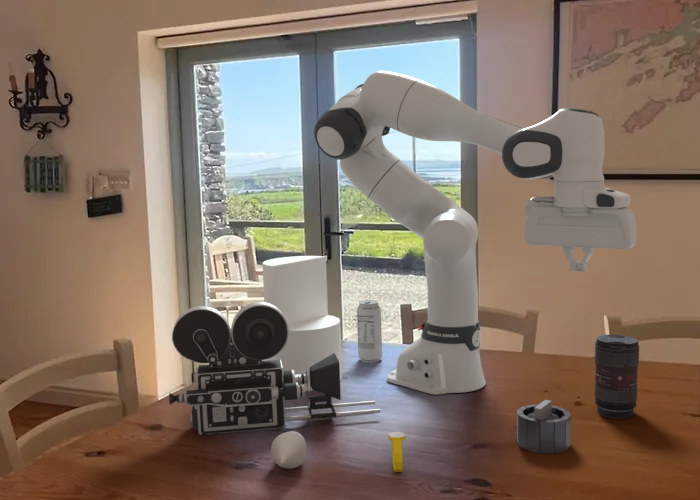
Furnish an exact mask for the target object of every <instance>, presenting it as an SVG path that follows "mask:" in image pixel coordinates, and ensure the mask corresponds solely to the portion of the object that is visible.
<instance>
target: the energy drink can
mask: <svg viewBox="0 0 700 500" xmlns="http://www.w3.org/2000/svg"><path fill="white" fill-rule="evenodd" d="M356 315H357V316H356V321H357V322H356V323H357V324H356V325H357V355H358V358H359V360H360V362H361V361H362V363H364V362H365V364H374V363H379V362H380V361H381V359H382V358H383V343H382V342H383V340H382V339H383V338H382V336H383V335H382V331H383V330H382V308H381V305H379V300H374V299H372V300H371V299H369V300H368V299H367V300H361V301H359V302H358V307H357V309H356Z"/></svg>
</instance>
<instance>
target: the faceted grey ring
mask: <svg viewBox="0 0 700 500" xmlns="http://www.w3.org/2000/svg"><path fill="white" fill-rule="evenodd" d="M539 404H540V403H539ZM539 404H538V403H536V404H528V405H527V404H526V405H523V406H521V407H519V408H518V409H517V410H516V442H517V446H518V447H520V448H521V449H524V450H525V451H528V452H533V453H536V454H552V455H554V454H559V453H562V452H563V453H564V452H566V451H567V450H568V449H570V448H571V443H572V442H571V441H572V440H571V436H572V434H571V431H572V430H571V428H572V419H571V418H572V416H571V414H570V412H569V410H568V409H566V408H564V407H563V408H562V407H561V406H557V405H552V413H553V414H556V415H557V416H559V419H555V420H538V419H533V418H530V417H528V416H527V415H528V414H530V413H533V412H534V408H535V407H536V406H537V405H539Z"/></svg>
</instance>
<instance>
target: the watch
mask: <svg viewBox="0 0 700 500" xmlns="http://www.w3.org/2000/svg"><path fill="white" fill-rule="evenodd" d="M387 437H388V440H390V441H391V449H392V451H391V453H392V455H391V456H392V467H393V473H403V466H404V465H403V464H404V463H403V445H402V444H403V441H404V440H406V434H405V433H404V432H402V431H393V432H389V433H388V436H387Z"/></svg>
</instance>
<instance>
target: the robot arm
mask: <svg viewBox="0 0 700 500" xmlns="http://www.w3.org/2000/svg"><path fill="white" fill-rule="evenodd" d="M391 129H392V130H395V131H396V132H399V133H400V134H401V133H402V134H404V135H406V136H410V137H412V138H416V139H420V140H425V141H432V142H459V143H465V144H466V143H467V144H472V145H475V146H479V147H480V148H483V149H486V150H489V151H491V152H494V153H497V154H499V155H501V158H502V162H503V166H504V167H505V169H506V171H508V172H509V174H510V175H512V176H514V177H516V178H519V179H521V180H537V179H539V180H540V179H541V180H547V179H551V178H553V180H554V181H553V186H554V187H553V196H538V195H537V196H533V197H532V198H530V199H528V200H527V201H526V203H525V205H524V206H525V207H524V208H525V209H524V210H525V216H526V219H525V225H524V234H523V235H524V237H523V238H524V241H525V243H526V244H527V245H530V246H548V247H550V246H551V247H562V252H563V255H564V257H565V258H566V260H567V262H568V270H569V271H571V272H585V273H586V272H587V271H588V262H589V260H590V259H591V257H592V256H593V254H594V253H595V252H594V251H595V250H594V249H608V250H609V249H610V250H629V249H632V248H633V247H634V246H635V245H636V244H637V238H638V237H637V225H636V224H637V223H636V216H635V213H634V211H633V210H632V209H631V208H629V206H630V205H631V202H632V197H631V195H630V194H628V193H625V192H623V191H618V190H615V189H613V188H609V187H606V186H605V176H604V173H603V162H604V159H605V155H606V154H605V153H606V151H605V147H606V144H605V129H604V123H603V119H602V118H601V116H599V114H598V113H597V112H594V111H593V110H587V109H584V108H583V109H581V108H574V107H563V108H560V109H559V110H557V111H556V112H555V113H554V114H553V115H551V116H549V117H547V118H545V119H544V120H543V121H540V122H538V123H536V124H534V125H531V126H528V127H525V128H524V127H519V126H517V125H514V124H511V123H509V122H506V121H503V120H501V119H497V118H494V117H492V116H489V115H487V114H484V113H482V112H480V111H478V110H477V109H474V108H473V107H471V106H469V105H468V104H466V103H465V102H462V101H461V100H459V99H458V98H456V97H455V96H453V95H451V94H450V93H448V92H446V91H445V90H443V89H441V88H439V87H437V86H435V85H433V84H432V83H429V82H426V81H424V80H421V79H418V78H415V77H413V76H409V75H405V74H401V73H397V72H394V71H393V72H392V71H385V70H379V71H376V72H373V73H371V74H370V75H369V76H368V77H367V78H366V79H365V81H364V82H363V83H361V84H360V85H359V84H358V86H356V87H355V88H354V89H353V90H351V91H349V92H348V93H346V94H345V95H343V96H342V97H339V99H338V101H337V102H336V103H335V104H334V105H332V106H331V107H330V108H329V110H327V111H325V112H324V113H322V115H321V116H320V117H319V118H318V120H317V121H316V123H315V126H314V130H313V136H314V140H315V143H316V145H317V146H318V148H319V149H320V151H321V152H322V153H323V154H324V155H325V156H327V157H328V158H331V159H332V160H338V161H339V166H340V169H341V171H342V172H343V174H344V175H345V176H346V177H347V179H349V181H350V182H351V183H352V185H354V187H356V189H358V191H360V192H361V193H362V194H363V195H364V196H365V197H366V198H368V200H370V201H371V202H372V203H373V204H375V206H377V207H378V208H379V209H380V210H382V211H383V212H384V213H385V214H386V215H388V216H389V217H390V218H391V219H392V220H393V221H395V222H396V223H397V224H399V225H402V226H403V227H405V228H407V229H408V230H409V231H410V232H412V233H414V234H415V235H417V236H418V238H419V237H420V238H421V240H422V241H423V254H424V255H423V256H424V270H425V279H426V287H427V289H426V290H427V320H426V321H424V322H422V324H419V325H417V327H418V328H417V331H421V335H420V337H419V338H418V339H415V341H413V342H412V343H410V345H408V346H406V348H404V349H403V350H401V352H400V353H399V354H398V357H397V362H396V368H395V369H393V370H392V371H391V372H389V373H388V374H387V376H386V382H389V383H391V384H394V385H399V386H400V387H401V386H402V387H405V388H408V389H412V390H415V391H419V392H422V393H427V394H430V395H435V396H436V395H444V394H454V393H455V394H456V393H467V392H468V393H469V392H473V391H474V392H475V391H478V390H480V389H482V388H483V387H485V385H486V383H487V382H486V379H485V376H484V372H483V368H482V361H481V357H480V356H481V355H480V345H481V327H480V326H481V323H480V321H479V320H478V319H479V317H478V316H479V313H478V309H479V306H478V304H479V302H478V301H479V300H478V298H479V296H478V294H479V293H478V290H479V289H478V287H479V286H478V277H477V276H478V274H477V272H478V271H477V252H476V250H477V242H478V239H479V227H478V224H477V222H476V219H475V218H474V217H473V216H472V215H471V213H469V212H468V211H466V210H465V209H464V208H462V207H461V206H460V205H459V204H457V202H455V201H453V200H452V199H451V198H450V197H448V196H447V195H446V194H444V193H443V192H441V191H440V190H438V189H437V188H436V187H435V186H433V185H431V184H430V183H429V182H428V181H426V180H425V179H424V178H422V177H421V176H420V175H419V174H418V173H416V172H415V171H414V170H413V169H412V168H411V167H409V166H408V165H407V164H406V163H405V162H404V161H402V160H401V159H400V158H399V157H397V156H396V155H395V154H393V153H392V152H391V151H390V150H389V149H388V148H387V147H386V146H385V145H384V142H383V137H384V136H387V135H388V134H389V133H390V132H391V131H390V130H391ZM575 248H582V254H585V255H584V256H583V258H582V259H581V260H576V258H575V256H574V253H572V252H574V251H575Z"/></svg>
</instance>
